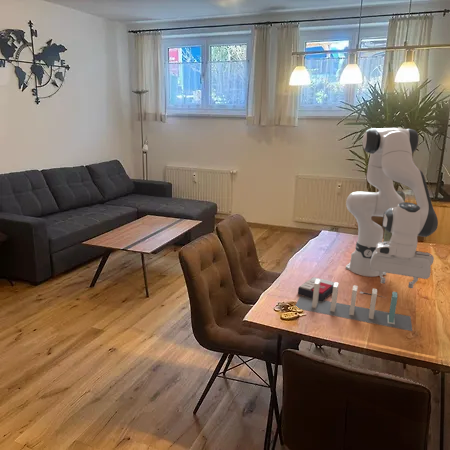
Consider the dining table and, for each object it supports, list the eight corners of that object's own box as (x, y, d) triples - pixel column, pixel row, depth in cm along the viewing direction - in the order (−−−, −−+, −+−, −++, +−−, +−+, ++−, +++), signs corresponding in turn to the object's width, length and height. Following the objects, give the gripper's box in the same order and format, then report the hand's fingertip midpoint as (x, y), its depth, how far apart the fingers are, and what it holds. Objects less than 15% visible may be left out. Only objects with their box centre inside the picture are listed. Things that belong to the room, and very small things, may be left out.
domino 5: (388, 321, 154) (392, 296, 151) (388, 316, 158) (392, 291, 155) (393, 322, 153) (397, 297, 150) (393, 316, 158) (397, 292, 155)
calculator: (298, 285, 173) (313, 275, 185) (297, 295, 174) (312, 284, 186) (323, 292, 167) (337, 281, 179) (322, 302, 168) (336, 290, 180)
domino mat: (299, 297, 173) (299, 295, 172) (410, 318, 159) (410, 316, 159) (294, 309, 162) (294, 307, 162) (412, 333, 148) (412, 330, 148)
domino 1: (311, 307, 163) (314, 283, 160) (313, 302, 167) (316, 278, 165) (316, 308, 162) (318, 284, 160) (317, 302, 167) (320, 279, 164)
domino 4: (368, 318, 156) (372, 293, 153) (369, 312, 160) (372, 288, 158) (373, 319, 155) (376, 294, 153) (373, 313, 160) (377, 289, 157)
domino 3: (349, 314, 158) (352, 290, 156) (350, 309, 163) (353, 285, 160) (353, 315, 158) (356, 290, 155) (354, 309, 162) (357, 285, 160)
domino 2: (330, 310, 160) (333, 286, 158) (331, 305, 165) (334, 281, 162) (334, 311, 160) (337, 287, 157) (335, 306, 164) (338, 282, 162)
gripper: (433, 250, 148) (427, 286, 152) (372, 242, 155) (367, 277, 158) (435, 256, 142) (428, 293, 146) (372, 247, 149) (367, 283, 153)
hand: (396, 285), depth 152 cm, fingers open, 8 cm apart
